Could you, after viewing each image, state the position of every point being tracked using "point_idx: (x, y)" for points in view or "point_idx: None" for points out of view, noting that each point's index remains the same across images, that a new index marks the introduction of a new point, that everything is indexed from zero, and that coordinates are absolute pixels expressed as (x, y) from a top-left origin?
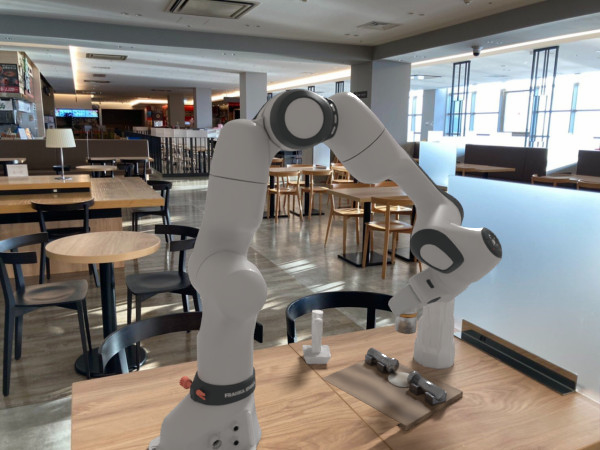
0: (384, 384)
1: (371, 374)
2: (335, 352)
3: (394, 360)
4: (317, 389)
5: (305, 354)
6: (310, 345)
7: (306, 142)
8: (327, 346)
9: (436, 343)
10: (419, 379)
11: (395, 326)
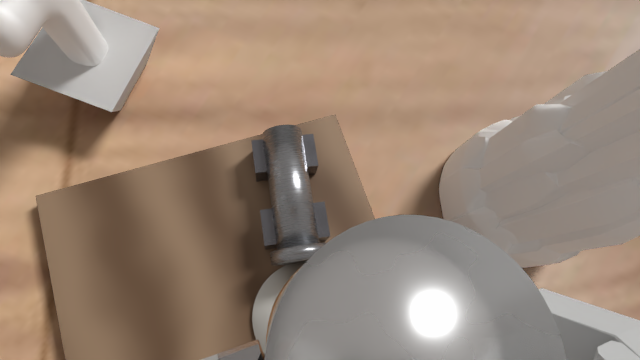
0: (225, 319)
1: (223, 237)
2: (214, 36)
3: (305, 258)
4: (3, 236)
5: (29, 60)
6: (92, 6)
7: None
8: (148, 36)
9: (531, 235)
10: None
11: (273, 304)
